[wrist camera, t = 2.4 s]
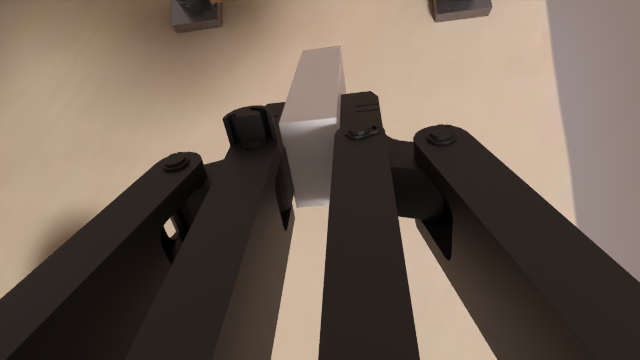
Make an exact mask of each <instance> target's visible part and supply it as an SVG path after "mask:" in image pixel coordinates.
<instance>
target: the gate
mask: <svg viewBox="0 0 640 360" xmlns="http://www.w3.org/2000/svg"><path fill="white" fill-rule="evenodd" d="M226 1H233V0H210V2H211V3H219V2H226Z"/></svg>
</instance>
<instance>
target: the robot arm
mask: <svg viewBox="0 0 640 360" xmlns="http://www.w3.org/2000/svg"><path fill="white" fill-rule="evenodd" d="M223 122H224V125H225V129H226V132H227V136H228V139H229V142H230V148H229V150H228V152H227V154H226V156H225V158H224V159H223V160H220V161H217V162H213V163H209V164H205V165H204V164H203V161H202V158H201V156H200V155H199V154H197V153H193V152H178V153H177V154H176V153H174V154H171V155H169V156H168V157H166V158H164V159H162V160H160V161H159V162H158V163H156V164H155V165H154V166H153V167H151V168H150V169H149V170H148V171H147V172H146V173H145V174H143V175H142V176H141V177H140V178H139V179H138V180H136V181H135V182H134V183H133V184H132V185H131V186H130V187H128V188H127V189H126V190H125V191H124V192H123V193H122V194H120V195H119V196H118V197H117V198H116V199H115V200H114V201H112V202H111V203H110V204H109V205H108V206H107V207H106V208H104V209H103V210H102V211H101V212H100V213H99V214H97V215H96V216H95V217H94V218H93V219H92V220H91V221H89V222H88V223H87V224H86V225H85V226H84V227H83V228H81V229H80V230H79V231H78V232H77V233H76V234H75V235H73V236H72V237H71V238H70V239H69V240H68V241H67V242H65V243H64V244H63V245H62V246H61V247H60V248H58V249H57V250H56V251H55V252H54V253H53V254H52V255H50V256H49V257H48V258H47V259H46V260H45V261H44V262H42V263H41V264H40V265H39V266H38V267H37V268H36V269H34V270H33V271H32V272H31V273H30V274H29V275H27V276H26V277H25V278H24V279H23V280H22V281H21V282H19V283H18V284H17V285H16V286H15V287H14V288H13V289H11V290H10V291H9V292H8V293H7V294H6V295H5V296H3V297H2V298H1V299H0V360H271V354H272V348H273V343H274V337H275V331H276V325H277V319H278V313H279V308H280V302H281V296H282V290H283V284H284V278H285V272H286V267H287V261H288V255H289V249H290V243H291V237H292V232H293V226H294V220H295V216H294V210H293V206H292V200H293V195H294V197H295V202H296V206H297V208H298V207H310V206H323V205H329V217H328V231H327V245H326V259H325V273H324V287H323V301H322V315H321V329H320V343H319V357H318V360H420V357H419V350H418V344H417V337H416V331H415V324H414V318H413V311H412V305H411V298H410V292H409V285H408V279H407V272H406V266H405V259H404V252H403V246H402V239H401V233H400V226H399V220H398V216H400V217H407V218H414V219H415V222H416V226H417V228H418V230H419V232H420V233H421V235H422V237H423V238H424V240H425V242H426V243H427V245H428V247H429V248H430V250H431V251H432V253H433V255H434V256H435V258H436V260H437V261H438V263H439V265H440V266H441V268H442V269H443V271H444V273H445V274H446V276H447V278H448V279H449V281H450V283H451V284H452V286H453V287H454V289H455V291H456V292H457V294H458V296H459V297H460V299H461V301H462V302H463V304H464V306H465V307H466V309H467V310H468V312H469V314H470V315H471V317H472V319H473V320H474V322H475V324H476V325H477V327H478V328H479V330H480V332H481V333H482V335H483V337H484V338H485V340H486V342H487V343H488V345H489V347H490V348H491V350H492V351H493V353H494V355H495V356H496V358H497V360H640V282H639V281H637V280H636V279H635V278H634V277H633V276H632V275H630V274H629V273H628V272H627V271H626V270H625V269H624V268H623V267H621V266H620V265H619V264H618V263H617V262H616V261H614V260H613V259H612V258H611V257H610V256H609V255H608V254H607V253H605V252H604V251H603V250H602V249H601V248H600V247H599V246H597V245H596V244H595V243H594V242H593V241H592V240H590V239H589V238H588V237H587V236H586V235H585V234H584V233H582V232H581V231H580V230H579V229H578V228H577V227H576V226H575V225H573V224H572V223H571V222H570V221H569V220H568V219H566V218H565V217H564V216H563V215H562V214H561V213H560V212H558V211H557V210H556V209H555V208H554V207H553V206H552V205H550V204H549V203H548V202H547V201H546V200H545V199H544V198H542V197H541V196H540V195H539V194H538V193H537V192H536V191H534V190H533V189H532V188H531V187H530V186H529V185H528V184H526V183H525V182H524V181H523V180H522V179H521V178H520V177H518V176H517V175H516V174H515V173H514V172H513V171H512V170H510V169H509V168H508V167H507V166H506V165H505V164H504V163H502V162H501V161H500V160H499V159H498V158H497V157H496V156H494V155H493V154H492V153H491V152H490V151H489V150H488V149H486V148H485V147H484V146H483V145H482V144H481V143H480V142H478V141H477V140H476V139H475V138H474V137H473V136H472V135H470V134H469V133H468V132H467V131H465V130H463V129H462V128H459V127H455V126H451V125H436V126H430V127H427V128H424V129H421V130H420V131H418V132H417V133H416V134H415V136H414V138H413V140H414V142H407V141H399V140H396V139H392V138H390V137H388V136H387V135H386V134H385V130H384V128H383V126H382V120H381V113H380V106H379V100H378V96H377V95H375V94H374V93H373V92H371V91H368V92H359V93H350V94H346V89H345V80H344V71H343V62H342V54H341V46H336V47H328V48H320V49H312V50H305V51H302V54H301V57H300V60H299V63H298V66H297V69H296V72H295V75H294V79H293V82H292V85H291V88H290V91H289V94H288V97H287V100H286V102H281V103H272V104H267V105H266V106H261V105H259V106H248V107H242V108H239V109H237V110H234V111H232V112H230V113H228V114H227V115H226V116H225V117H224V118H223ZM169 218H171V221H172V223H173V225H174V228H175V230H176V232H175V234H174V235H173V236H172V237H170V238H169V237H168V235H167V233H166V231H165V229H164V224H165V223H166V222H167V220H168V219H169Z"/></svg>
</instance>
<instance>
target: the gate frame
mask: <svg viewBox="0 0 640 360" xmlns="http://www.w3.org/2000/svg"><path fill="white" fill-rule="evenodd" d="M432 1H433V9H434V16H435V22H443V21H451V20H458V19H466V18H474V17H482V16H488V15H489V13H490V11H491V9H492V3H491V0H432ZM171 26H172V27H173V29H174V30H175V31H176V32H177V33H179V32H186V31H194V30H201V29H208V28H216V27H222V2H219V3H211V2H210V0H171Z"/></svg>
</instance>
